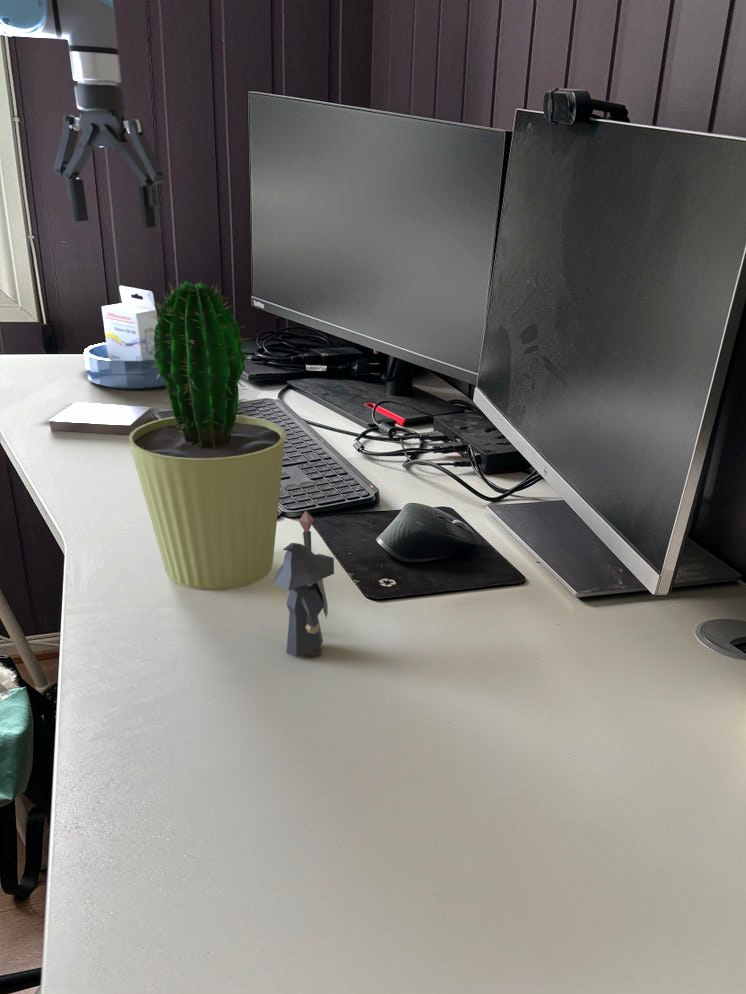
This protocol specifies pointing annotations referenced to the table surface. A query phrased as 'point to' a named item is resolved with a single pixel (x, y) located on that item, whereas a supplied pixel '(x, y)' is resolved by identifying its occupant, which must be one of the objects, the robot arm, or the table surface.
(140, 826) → the table surface
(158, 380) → the bowl
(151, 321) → the ink cartridge box
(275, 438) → the potted cactus
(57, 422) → the board
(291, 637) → the wizard figurine
